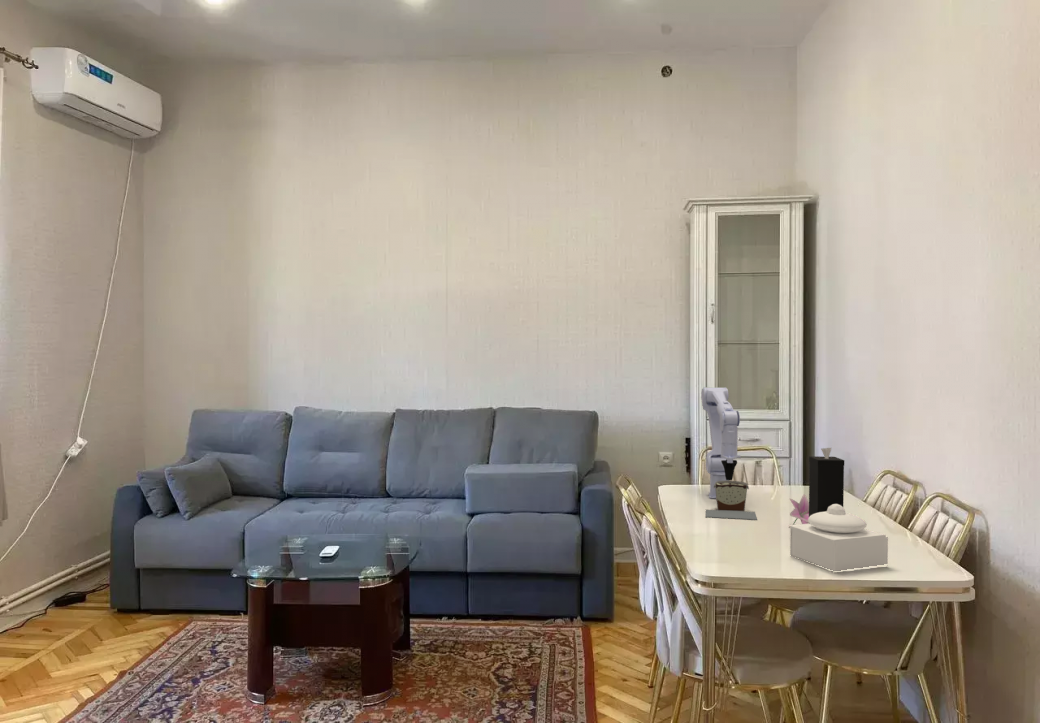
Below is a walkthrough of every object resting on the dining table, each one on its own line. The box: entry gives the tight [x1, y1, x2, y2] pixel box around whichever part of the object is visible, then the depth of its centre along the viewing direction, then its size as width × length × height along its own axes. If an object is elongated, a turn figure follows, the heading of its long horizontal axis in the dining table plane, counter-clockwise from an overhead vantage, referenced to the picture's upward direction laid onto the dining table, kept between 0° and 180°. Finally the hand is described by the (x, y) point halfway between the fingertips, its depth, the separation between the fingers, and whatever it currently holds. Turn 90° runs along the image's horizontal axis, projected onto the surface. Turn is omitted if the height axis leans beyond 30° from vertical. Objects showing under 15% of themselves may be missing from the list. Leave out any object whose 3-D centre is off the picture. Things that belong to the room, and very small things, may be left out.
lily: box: [789, 493, 809, 525], centre depth 253 cm, size 12×12×10 cm
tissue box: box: [808, 447, 845, 524], centre depth 236 cm, size 8×8×28 cm
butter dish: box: [788, 504, 889, 571], centre depth 212 cm, size 18×18×16 cm
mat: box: [705, 509, 758, 521], centre depth 270 cm, size 12×17×1 cm
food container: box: [714, 480, 750, 512], centre depth 279 cm, size 12×6×10 cm, turn 84°
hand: (729, 479), depth 287 cm, fingers closed
